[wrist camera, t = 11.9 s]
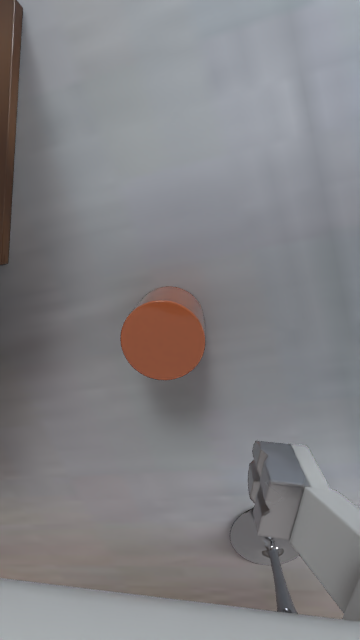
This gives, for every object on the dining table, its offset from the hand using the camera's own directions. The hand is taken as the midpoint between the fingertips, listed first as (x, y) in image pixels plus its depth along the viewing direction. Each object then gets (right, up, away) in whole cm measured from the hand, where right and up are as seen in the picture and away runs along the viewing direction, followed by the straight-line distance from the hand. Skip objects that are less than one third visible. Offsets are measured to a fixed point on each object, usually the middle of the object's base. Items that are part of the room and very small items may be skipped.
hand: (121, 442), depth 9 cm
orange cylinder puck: (+1, +4, +12) cm, 13 cm away
